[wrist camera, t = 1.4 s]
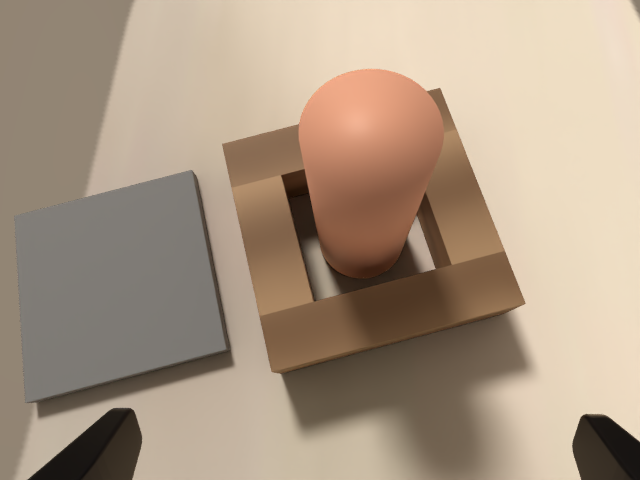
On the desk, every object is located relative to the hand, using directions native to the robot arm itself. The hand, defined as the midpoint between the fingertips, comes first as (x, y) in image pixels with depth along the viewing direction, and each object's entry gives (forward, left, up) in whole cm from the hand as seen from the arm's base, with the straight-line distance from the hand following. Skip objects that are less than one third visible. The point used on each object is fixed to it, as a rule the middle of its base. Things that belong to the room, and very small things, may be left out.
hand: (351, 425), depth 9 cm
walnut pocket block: (+8, -3, -14) cm, 16 cm away
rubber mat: (+9, +10, -14) cm, 19 cm away
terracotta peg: (+8, -3, -14) cm, 16 cm away
